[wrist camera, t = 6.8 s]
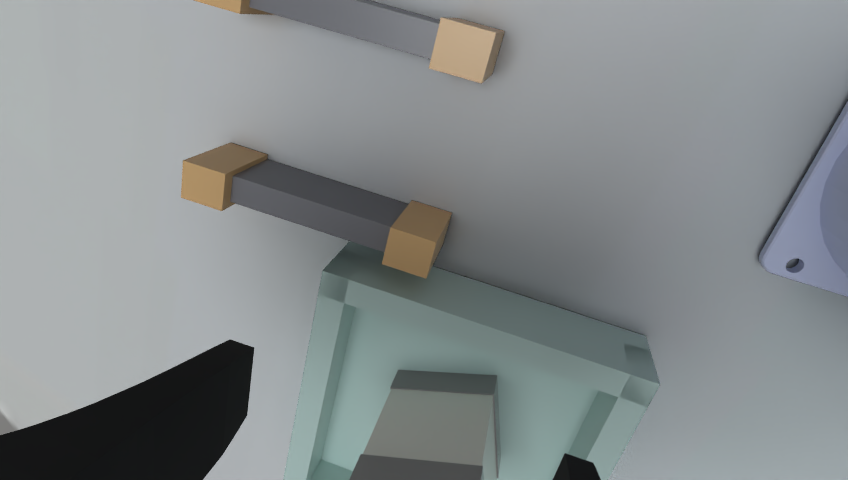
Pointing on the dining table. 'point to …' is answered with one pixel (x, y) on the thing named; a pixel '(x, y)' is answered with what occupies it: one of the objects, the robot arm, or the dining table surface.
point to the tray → (464, 368)
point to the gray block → (435, 429)
